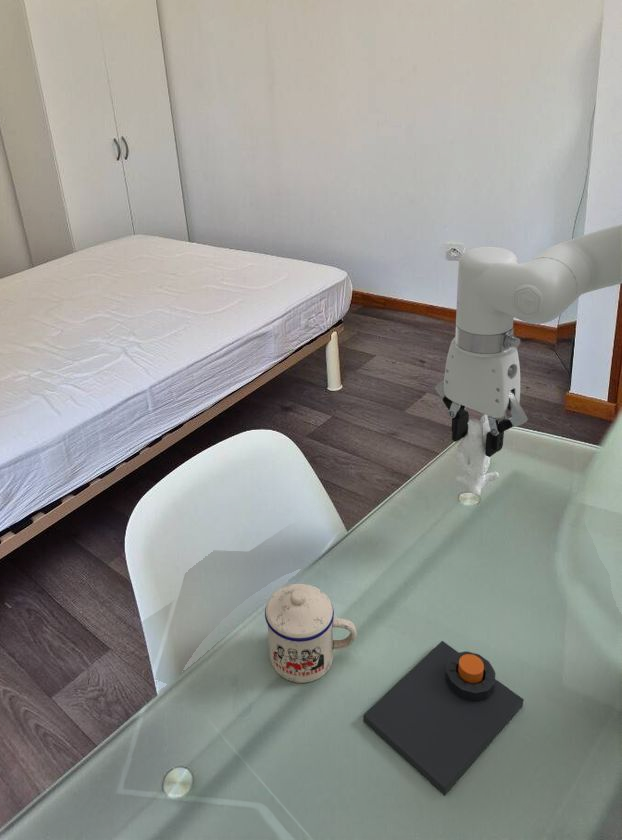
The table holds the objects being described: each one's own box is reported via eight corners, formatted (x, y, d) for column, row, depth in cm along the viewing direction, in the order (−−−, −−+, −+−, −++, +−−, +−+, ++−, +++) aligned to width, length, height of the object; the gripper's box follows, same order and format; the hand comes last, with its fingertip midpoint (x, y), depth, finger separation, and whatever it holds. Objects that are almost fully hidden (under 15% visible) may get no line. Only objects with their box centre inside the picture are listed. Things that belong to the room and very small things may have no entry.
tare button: (467, 659, 89) (468, 649, 88) (487, 674, 87) (488, 664, 86) (453, 672, 87) (454, 663, 87) (473, 688, 85) (474, 678, 85)
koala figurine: (488, 503, 101) (493, 435, 96) (443, 490, 105) (446, 424, 100) (505, 473, 107) (510, 407, 102) (462, 461, 111) (465, 397, 106)
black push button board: (443, 645, 94) (444, 630, 93) (524, 704, 86) (527, 688, 84) (363, 722, 85) (363, 706, 84) (444, 796, 77) (446, 779, 75)
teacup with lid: (264, 683, 91) (259, 620, 86) (272, 627, 99) (267, 566, 94) (356, 690, 89) (356, 626, 84) (356, 632, 97) (356, 571, 92)
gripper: (555, 344, 92) (542, 457, 99) (447, 312, 104) (443, 415, 112) (525, 364, 88) (514, 480, 95) (416, 328, 100) (414, 433, 108)
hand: (476, 443), depth 103 cm, fingers closed on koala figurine, 5 cm apart
